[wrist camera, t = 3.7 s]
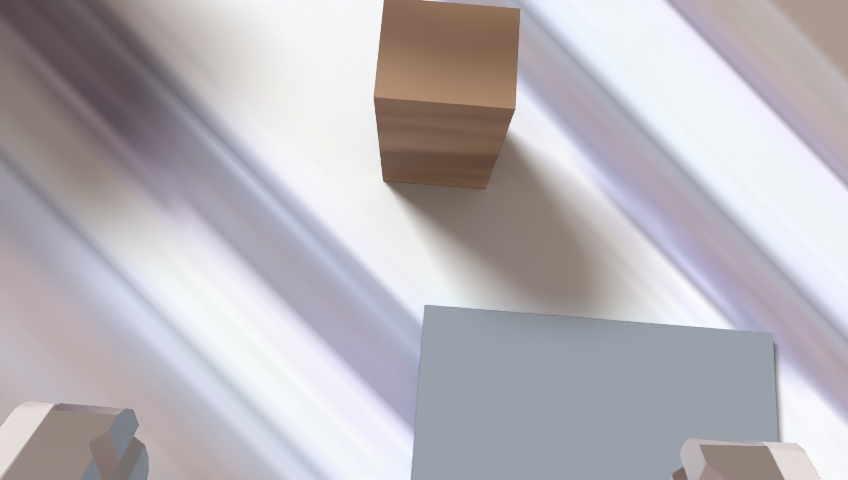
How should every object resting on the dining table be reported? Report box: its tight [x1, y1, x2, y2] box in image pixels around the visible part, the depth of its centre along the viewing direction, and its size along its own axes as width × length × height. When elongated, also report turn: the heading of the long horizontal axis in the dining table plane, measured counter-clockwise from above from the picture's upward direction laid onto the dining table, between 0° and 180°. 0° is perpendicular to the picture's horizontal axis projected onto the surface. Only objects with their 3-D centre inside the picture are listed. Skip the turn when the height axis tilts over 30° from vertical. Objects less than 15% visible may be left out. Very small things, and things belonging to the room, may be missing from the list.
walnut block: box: [374, 0, 520, 189], centre depth 27 cm, size 4×5×9 cm
